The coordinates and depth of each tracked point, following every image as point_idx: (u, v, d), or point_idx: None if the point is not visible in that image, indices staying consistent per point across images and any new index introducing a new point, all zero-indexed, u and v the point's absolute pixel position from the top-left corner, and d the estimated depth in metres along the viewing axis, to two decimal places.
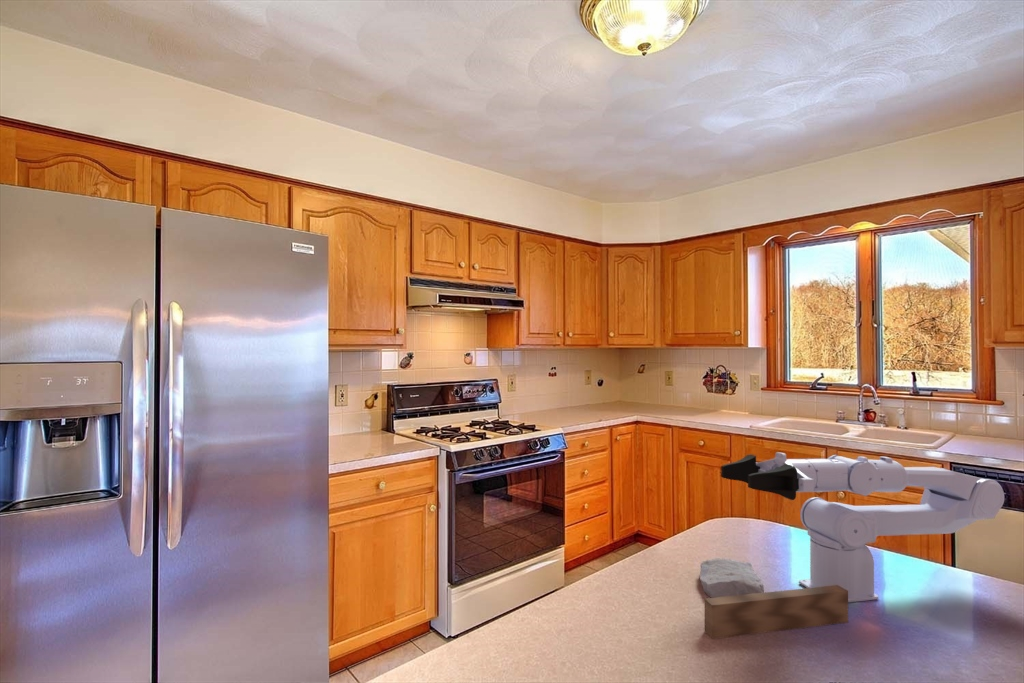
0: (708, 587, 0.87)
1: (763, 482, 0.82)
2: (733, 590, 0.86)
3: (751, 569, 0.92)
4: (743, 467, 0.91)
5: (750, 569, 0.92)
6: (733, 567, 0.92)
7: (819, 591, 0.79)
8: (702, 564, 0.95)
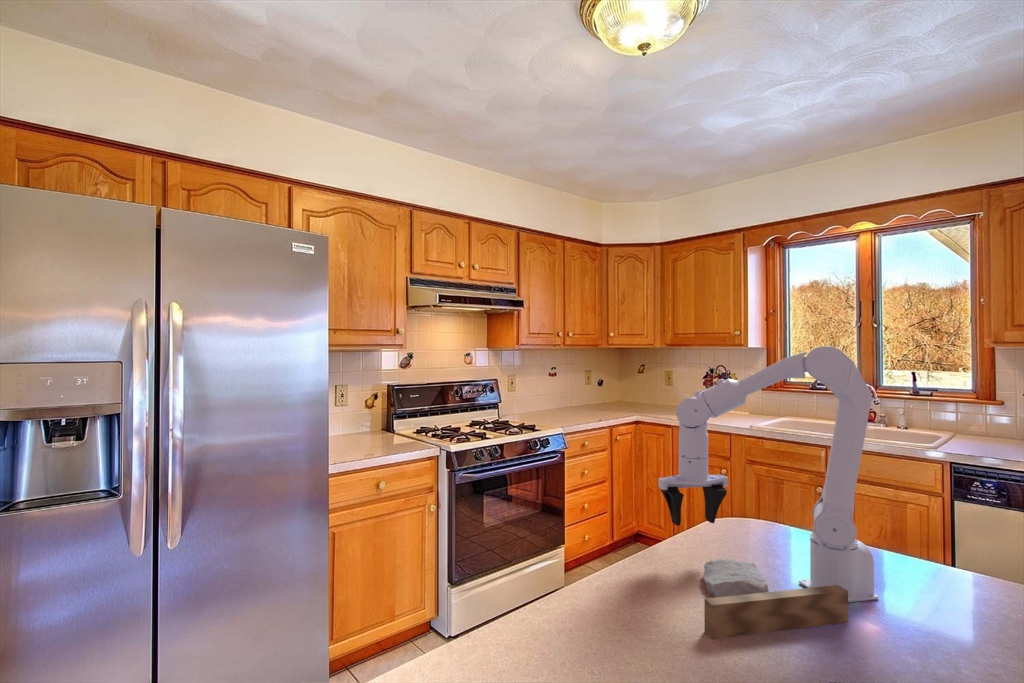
0: (712, 587, 0.87)
1: (674, 512, 1.01)
2: (737, 590, 0.85)
3: (755, 569, 0.92)
4: (707, 500, 1.03)
5: (754, 569, 0.91)
6: (737, 567, 0.92)
7: (819, 591, 0.79)
8: (706, 564, 0.95)
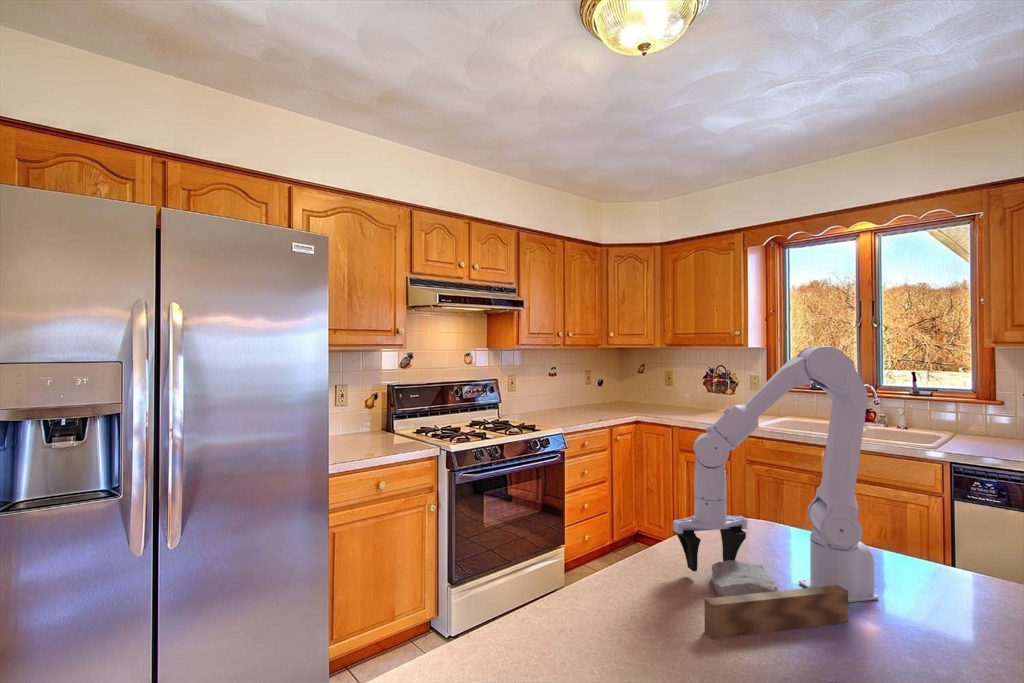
0: (722, 590, 0.86)
1: (690, 557, 0.95)
2: (747, 592, 0.84)
3: (763, 571, 0.91)
4: (725, 543, 0.97)
5: (762, 571, 0.91)
6: (745, 569, 0.91)
7: (819, 591, 0.79)
8: (713, 566, 0.93)
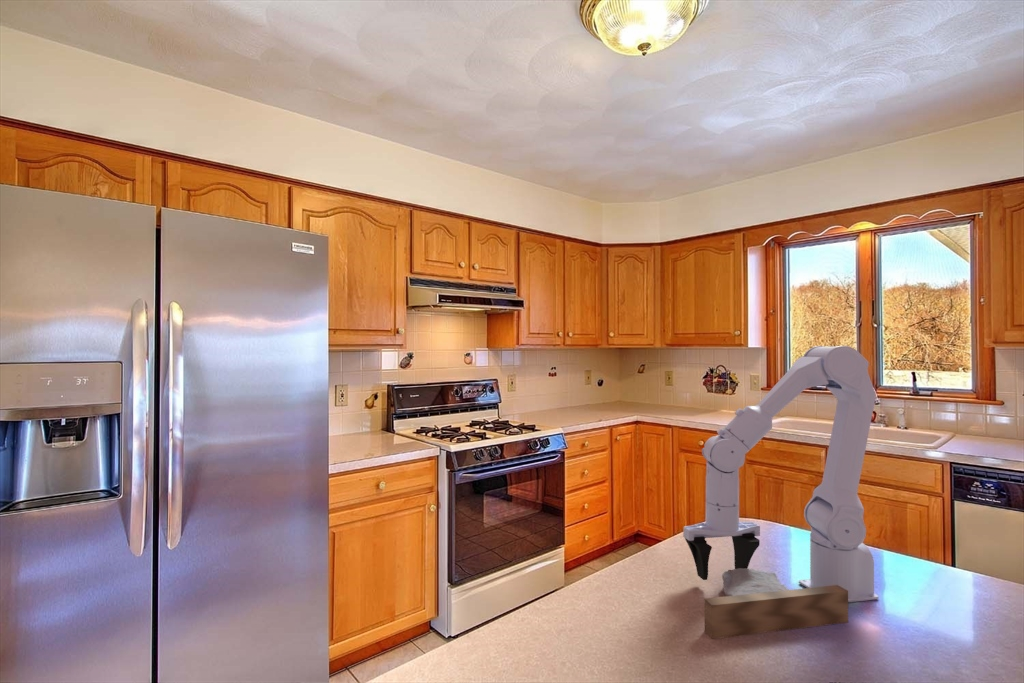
0: None
1: (700, 565, 0.91)
2: None
3: (776, 580, 0.87)
4: (737, 550, 0.93)
5: (775, 580, 0.87)
6: (758, 578, 0.87)
7: (819, 591, 0.79)
8: (724, 574, 0.90)
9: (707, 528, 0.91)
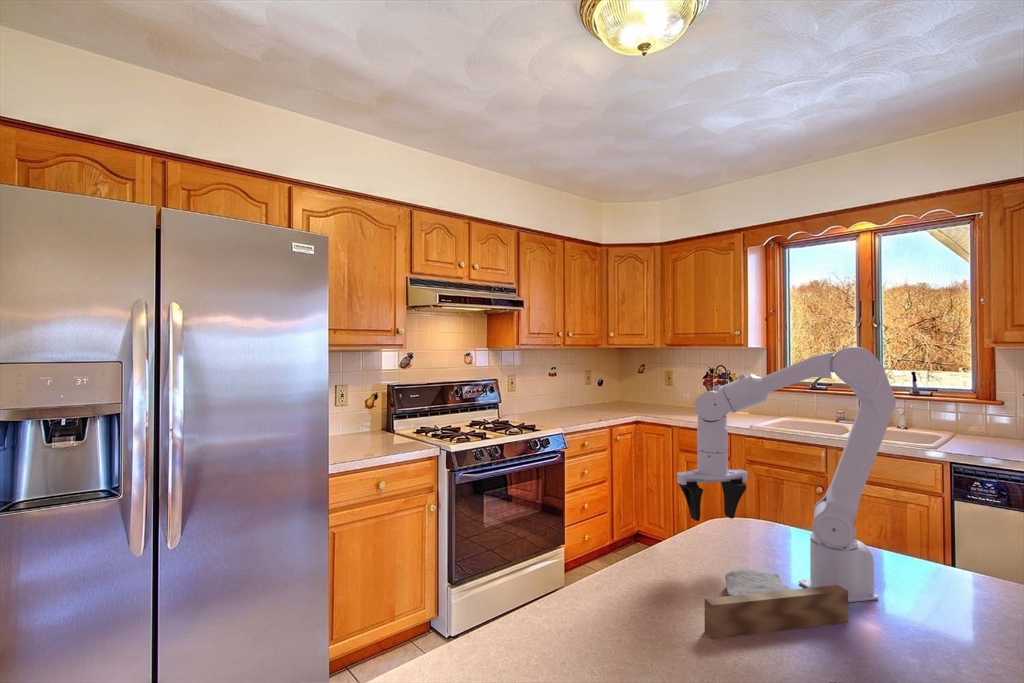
0: None
1: (693, 508, 0.99)
2: None
3: (779, 581, 0.87)
4: (726, 495, 1.02)
5: (778, 581, 0.87)
6: (761, 579, 0.87)
7: (819, 591, 0.79)
8: (727, 576, 0.90)
9: (699, 474, 0.99)
